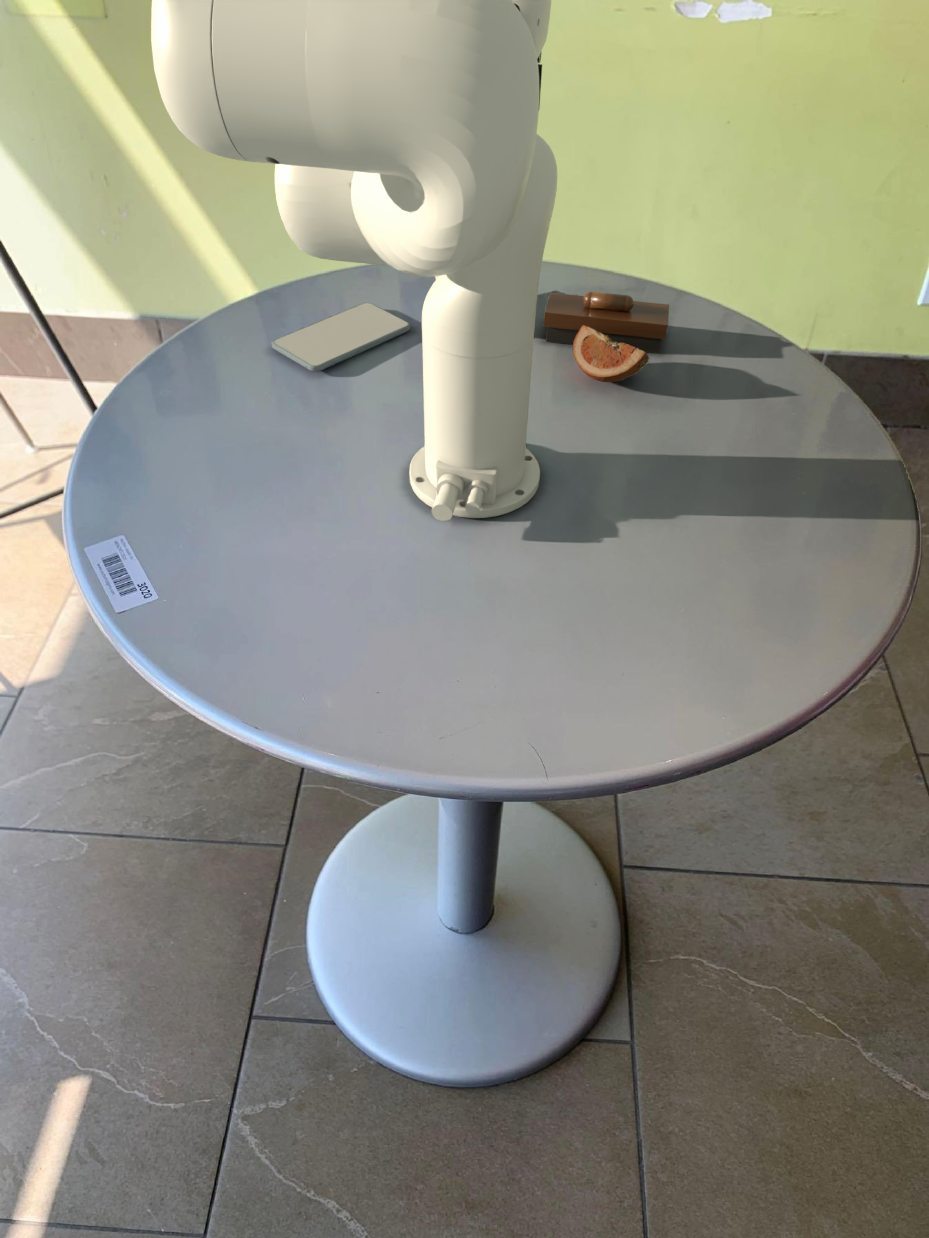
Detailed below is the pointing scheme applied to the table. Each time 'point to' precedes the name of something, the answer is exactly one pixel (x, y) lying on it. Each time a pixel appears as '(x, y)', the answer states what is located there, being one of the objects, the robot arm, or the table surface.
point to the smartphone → (340, 336)
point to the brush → (607, 319)
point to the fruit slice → (606, 356)
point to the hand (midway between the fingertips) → (513, 131)
